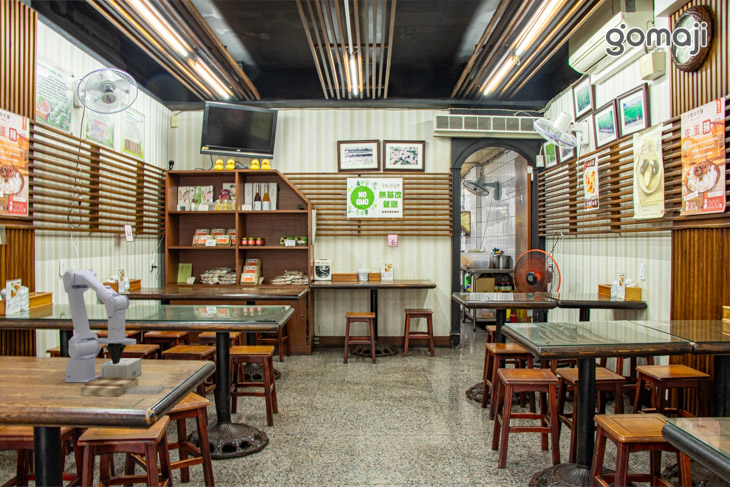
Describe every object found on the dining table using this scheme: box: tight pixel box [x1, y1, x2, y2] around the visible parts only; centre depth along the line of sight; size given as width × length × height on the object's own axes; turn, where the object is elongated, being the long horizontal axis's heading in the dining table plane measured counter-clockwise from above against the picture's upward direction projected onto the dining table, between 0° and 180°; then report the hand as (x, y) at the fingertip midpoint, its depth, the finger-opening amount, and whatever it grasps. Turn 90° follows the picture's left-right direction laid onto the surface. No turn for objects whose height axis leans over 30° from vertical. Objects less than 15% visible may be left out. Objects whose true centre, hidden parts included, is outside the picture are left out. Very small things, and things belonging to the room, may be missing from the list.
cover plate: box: [123, 384, 165, 395], centre depth 159 cm, size 12×5×2 cm, turn 90°
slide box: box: [80, 376, 139, 398], centre depth 160 cm, size 14×12×4 cm
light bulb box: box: [100, 357, 142, 378], centre depth 176 cm, size 11×7×11 cm
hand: (116, 363), depth 165 cm, fingers closed
